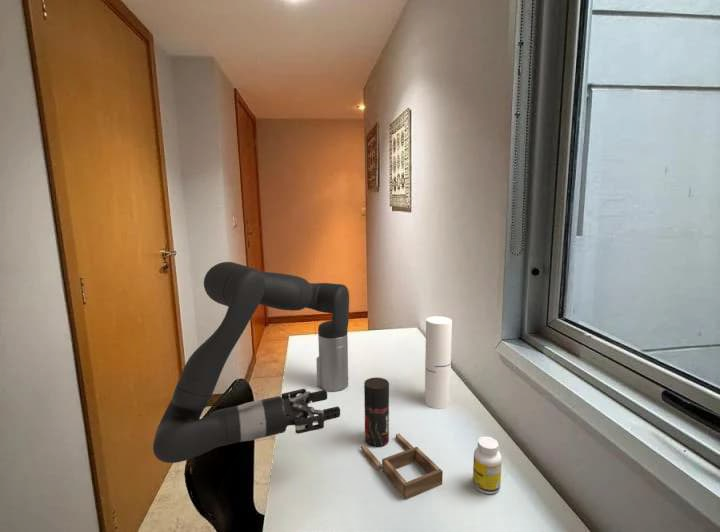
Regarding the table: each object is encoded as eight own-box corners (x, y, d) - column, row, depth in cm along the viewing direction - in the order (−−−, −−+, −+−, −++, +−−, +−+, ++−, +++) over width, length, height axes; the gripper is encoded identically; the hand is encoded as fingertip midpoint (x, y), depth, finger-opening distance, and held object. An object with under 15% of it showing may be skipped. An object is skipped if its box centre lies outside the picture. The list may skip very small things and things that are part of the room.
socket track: (361, 450, 90) (361, 438, 90) (399, 437, 95) (399, 426, 94) (402, 501, 75) (402, 487, 74) (445, 482, 80) (445, 469, 79)
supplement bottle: (468, 477, 81) (470, 434, 80) (493, 475, 82) (495, 433, 80) (478, 496, 76) (480, 451, 74) (505, 494, 76) (507, 449, 75)
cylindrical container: (449, 409, 107) (452, 324, 103) (424, 407, 109) (425, 323, 105) (449, 397, 114) (451, 316, 110) (425, 395, 116) (426, 315, 112)
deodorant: (387, 448, 91) (387, 389, 88) (363, 446, 92) (362, 387, 89) (389, 433, 97) (389, 378, 94) (366, 431, 98) (366, 376, 95)
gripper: (266, 418, 74) (344, 401, 80) (254, 387, 87) (322, 374, 93) (268, 454, 75) (344, 434, 82) (256, 418, 88) (323, 403, 94)
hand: (332, 402), depth 87 cm, fingers open, 8 cm apart
